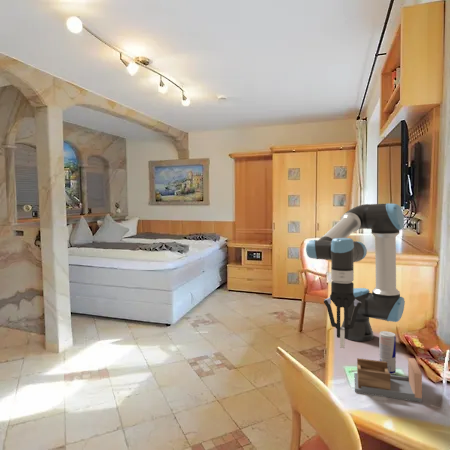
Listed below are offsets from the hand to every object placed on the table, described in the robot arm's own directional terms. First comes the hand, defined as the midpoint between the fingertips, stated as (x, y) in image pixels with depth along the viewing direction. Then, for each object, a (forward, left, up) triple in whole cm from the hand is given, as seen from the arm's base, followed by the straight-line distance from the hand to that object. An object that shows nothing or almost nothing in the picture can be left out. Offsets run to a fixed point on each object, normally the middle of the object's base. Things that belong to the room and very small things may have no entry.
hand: (342, 346), depth 122 cm
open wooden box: (0, +10, -12) cm, 16 cm away
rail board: (0, +14, -13) cm, 19 cm away
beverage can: (-13, +16, -13) cm, 25 cm away
